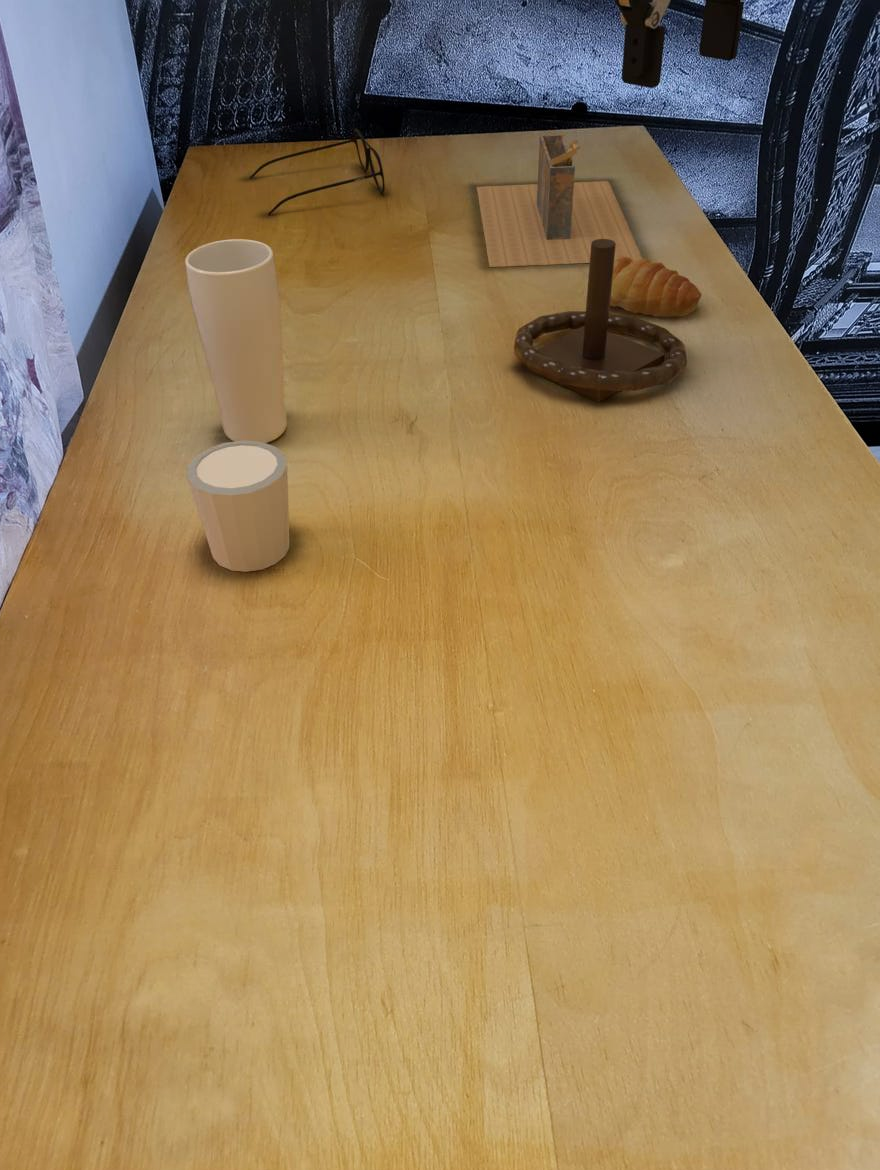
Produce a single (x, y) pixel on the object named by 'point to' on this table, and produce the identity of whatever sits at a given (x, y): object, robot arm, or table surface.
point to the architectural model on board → (552, 215)
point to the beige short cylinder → (242, 503)
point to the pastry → (651, 289)
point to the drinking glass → (240, 334)
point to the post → (599, 331)
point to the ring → (595, 377)
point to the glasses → (368, 161)
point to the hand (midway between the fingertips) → (679, 70)
